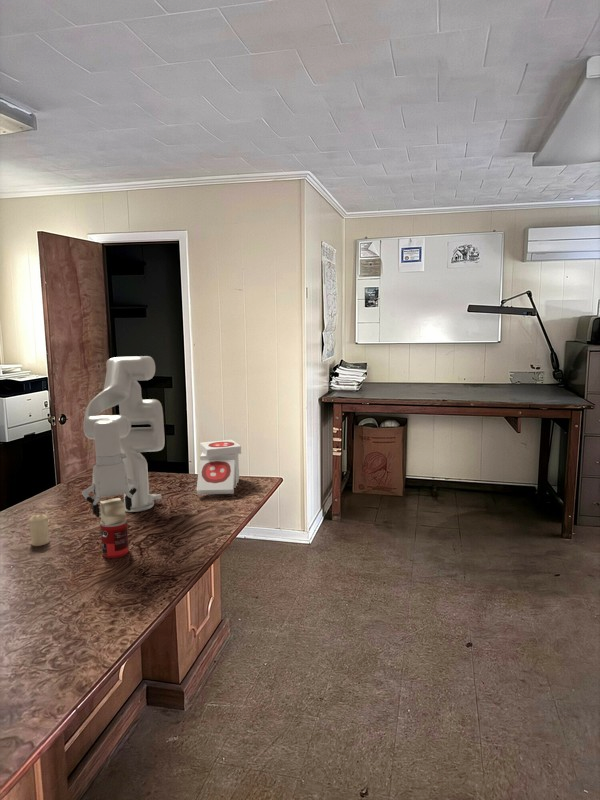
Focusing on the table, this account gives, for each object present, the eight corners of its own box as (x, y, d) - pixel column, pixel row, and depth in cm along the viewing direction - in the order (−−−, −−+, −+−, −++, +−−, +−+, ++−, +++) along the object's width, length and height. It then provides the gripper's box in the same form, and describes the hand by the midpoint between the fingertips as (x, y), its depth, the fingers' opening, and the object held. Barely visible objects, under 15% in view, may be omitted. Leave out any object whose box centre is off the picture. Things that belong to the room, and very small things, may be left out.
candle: (53, 540, 194) (50, 512, 192) (41, 546, 189) (38, 517, 187) (40, 538, 196) (37, 510, 194) (27, 545, 191) (25, 516, 189)
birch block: (120, 515, 185) (118, 497, 184) (125, 521, 180) (124, 502, 179) (101, 519, 182) (99, 501, 181) (106, 525, 177) (105, 506, 176)
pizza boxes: (192, 499, 234) (190, 456, 231) (203, 478, 264) (201, 440, 261) (239, 498, 234) (237, 455, 232) (244, 477, 264) (243, 439, 261)
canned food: (105, 549, 186) (103, 516, 184) (131, 548, 186) (128, 515, 185) (99, 559, 178) (97, 525, 177) (126, 558, 179) (123, 524, 177)
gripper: (132, 453, 186) (136, 503, 188) (76, 461, 176) (81, 515, 179) (140, 457, 179) (143, 510, 182) (82, 467, 170) (87, 522, 173)
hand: (112, 512), depth 180 cm, fingers open, 9 cm apart
